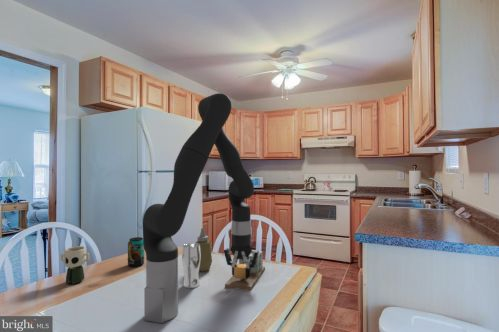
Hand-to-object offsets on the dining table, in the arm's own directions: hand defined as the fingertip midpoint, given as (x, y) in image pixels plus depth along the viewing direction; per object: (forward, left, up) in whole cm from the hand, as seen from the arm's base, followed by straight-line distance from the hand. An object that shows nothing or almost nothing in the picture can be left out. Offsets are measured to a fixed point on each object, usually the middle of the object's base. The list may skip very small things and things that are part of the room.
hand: (241, 276), depth 108 cm
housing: (+7, 0, -3) cm, 7 cm away
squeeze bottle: (+10, +21, -3) cm, 24 cm away
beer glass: (-6, +18, -3) cm, 19 cm away
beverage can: (+7, +53, -3) cm, 54 cm away
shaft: (+9, 0, 0) cm, 9 cm away
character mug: (-16, +63, -3) cm, 65 cm away
